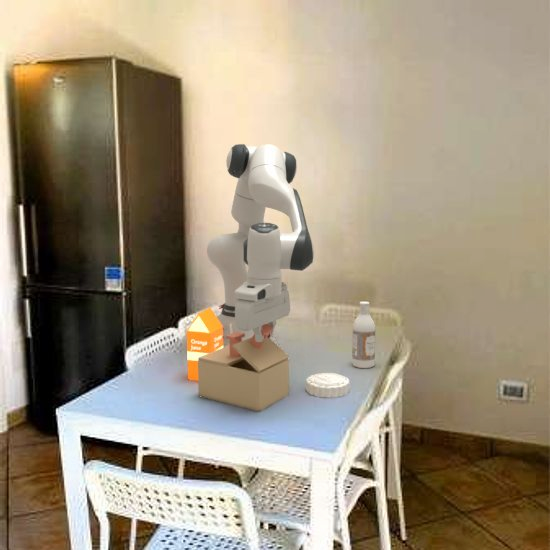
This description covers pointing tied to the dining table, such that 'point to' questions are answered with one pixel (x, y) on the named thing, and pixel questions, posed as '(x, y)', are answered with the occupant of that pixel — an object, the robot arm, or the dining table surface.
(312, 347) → the dining table surface
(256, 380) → the carton
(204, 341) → the orange juice
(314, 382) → the mooncake
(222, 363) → the flap left
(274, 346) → the flap right
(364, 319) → the bath foam
